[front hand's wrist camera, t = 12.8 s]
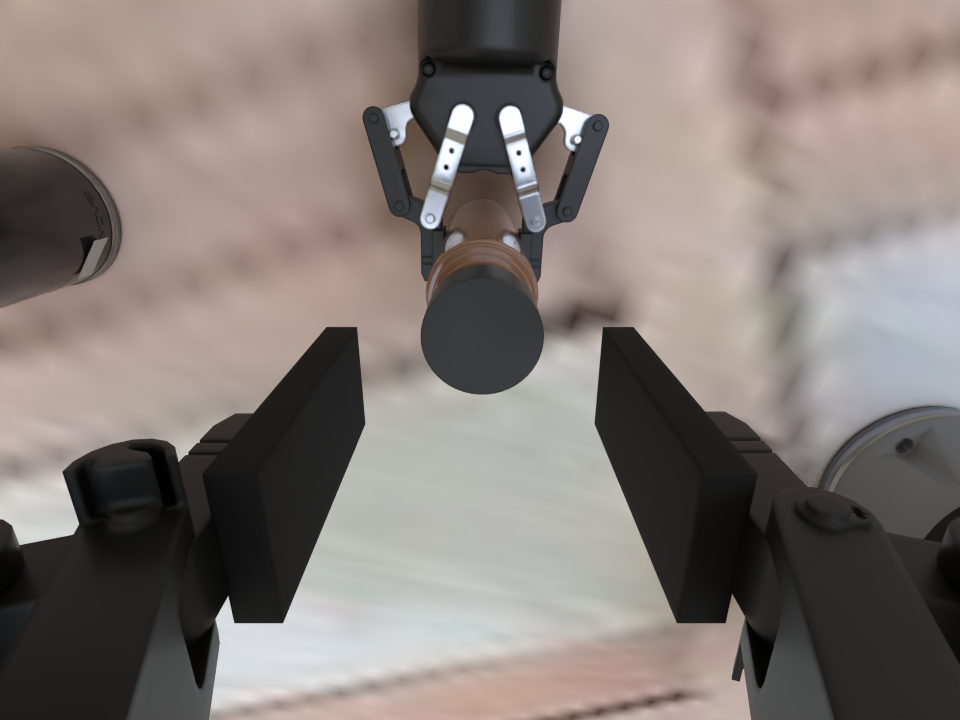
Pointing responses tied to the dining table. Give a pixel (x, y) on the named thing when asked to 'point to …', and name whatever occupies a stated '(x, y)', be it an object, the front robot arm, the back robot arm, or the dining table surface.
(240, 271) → the dining table surface
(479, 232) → the bottle
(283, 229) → the dining table surface
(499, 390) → the cap
